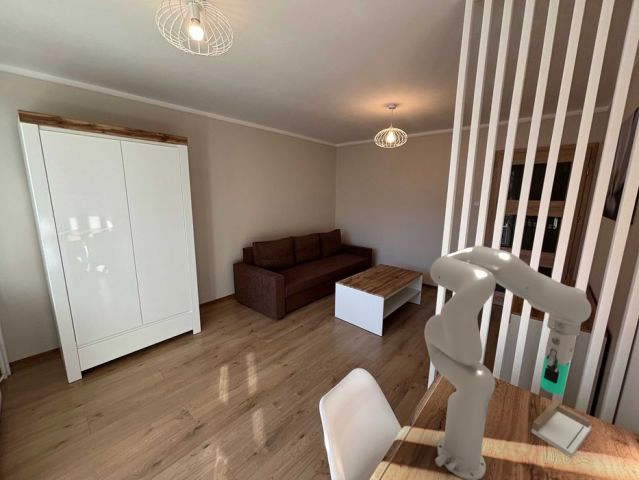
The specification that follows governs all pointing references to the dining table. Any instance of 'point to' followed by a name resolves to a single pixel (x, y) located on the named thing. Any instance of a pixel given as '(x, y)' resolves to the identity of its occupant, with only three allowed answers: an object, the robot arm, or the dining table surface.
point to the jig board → (561, 428)
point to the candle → (560, 384)
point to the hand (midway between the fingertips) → (553, 377)
